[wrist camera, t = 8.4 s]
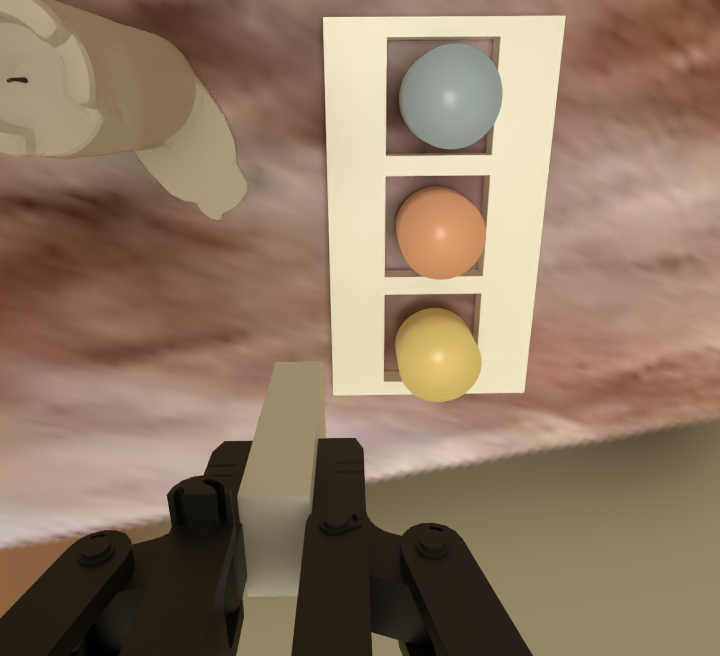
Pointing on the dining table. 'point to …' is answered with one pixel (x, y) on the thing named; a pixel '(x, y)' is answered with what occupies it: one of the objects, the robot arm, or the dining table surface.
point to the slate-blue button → (451, 96)
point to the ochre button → (437, 355)
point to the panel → (498, 165)
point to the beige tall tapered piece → (112, 101)
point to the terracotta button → (440, 232)
